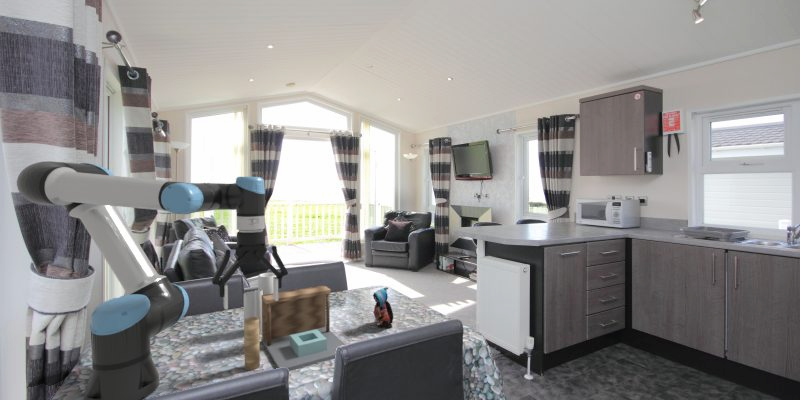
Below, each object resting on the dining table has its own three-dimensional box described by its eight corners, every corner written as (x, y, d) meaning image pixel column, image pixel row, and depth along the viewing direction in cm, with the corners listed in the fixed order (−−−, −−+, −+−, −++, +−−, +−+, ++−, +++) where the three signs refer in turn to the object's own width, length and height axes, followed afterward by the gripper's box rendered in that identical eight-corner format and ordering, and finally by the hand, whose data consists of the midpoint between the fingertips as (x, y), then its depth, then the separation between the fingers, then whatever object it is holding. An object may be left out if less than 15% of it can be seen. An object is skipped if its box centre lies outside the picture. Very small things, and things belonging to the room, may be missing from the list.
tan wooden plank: (266, 349, 114) (266, 300, 114) (262, 342, 120) (261, 295, 119) (331, 334, 126) (331, 289, 126) (324, 328, 132) (324, 285, 131)
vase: (274, 323, 136) (274, 271, 135) (279, 330, 130) (279, 275, 129) (242, 330, 129) (242, 275, 129) (246, 337, 123) (246, 280, 123)
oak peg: (246, 371, 101) (245, 323, 100) (243, 365, 104) (243, 318, 103) (261, 367, 103) (260, 320, 102) (258, 362, 106) (257, 315, 106)
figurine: (367, 323, 136) (367, 284, 136) (383, 319, 140) (383, 282, 140) (379, 332, 128) (380, 291, 127) (396, 328, 132) (396, 288, 131)
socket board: (280, 373, 100) (280, 357, 100) (261, 341, 120) (261, 328, 120) (351, 353, 112) (351, 339, 112) (323, 327, 132) (323, 315, 132)
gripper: (202, 235, 92) (203, 316, 93) (298, 229, 106) (298, 299, 107) (200, 231, 98) (201, 307, 99) (290, 226, 112) (291, 293, 113)
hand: (251, 303), depth 103 cm, fingers open, 13 cm apart
